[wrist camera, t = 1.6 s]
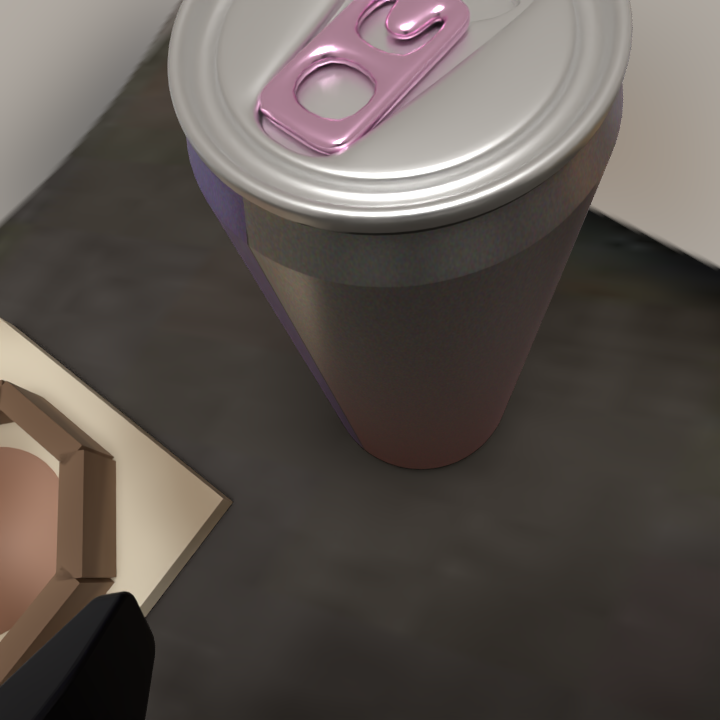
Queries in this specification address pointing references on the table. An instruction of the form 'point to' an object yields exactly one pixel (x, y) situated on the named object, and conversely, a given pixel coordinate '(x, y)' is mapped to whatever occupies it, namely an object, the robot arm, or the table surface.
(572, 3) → the beverage can
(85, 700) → the robot arm
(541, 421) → the table surface
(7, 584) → the board
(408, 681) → the table surface
